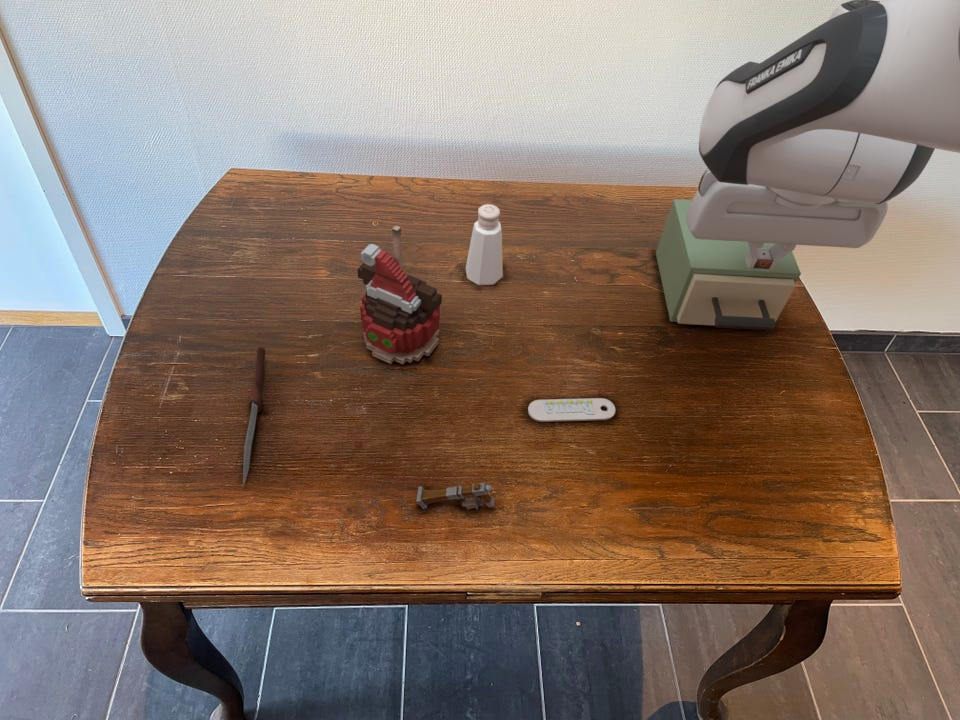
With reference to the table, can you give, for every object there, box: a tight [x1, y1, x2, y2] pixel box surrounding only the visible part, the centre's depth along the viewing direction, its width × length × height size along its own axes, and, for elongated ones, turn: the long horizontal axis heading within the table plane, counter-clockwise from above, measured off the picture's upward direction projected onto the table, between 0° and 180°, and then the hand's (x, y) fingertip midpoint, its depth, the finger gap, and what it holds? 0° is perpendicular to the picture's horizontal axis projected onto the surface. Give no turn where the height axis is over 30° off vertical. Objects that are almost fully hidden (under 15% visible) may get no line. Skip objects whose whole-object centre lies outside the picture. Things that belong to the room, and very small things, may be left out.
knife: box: [242, 346, 266, 488], centre depth 78 cm, size 18×2×3 cm, turn 5°
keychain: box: [527, 397, 616, 423], centre depth 82 cm, size 10×1×3 cm
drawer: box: [677, 273, 797, 331], centre depth 91 cm, size 17×13×8 cm
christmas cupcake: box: [356, 225, 443, 365], centre depth 81 cm, size 11×9×18 cm
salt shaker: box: [465, 203, 504, 286], centre depth 93 cm, size 5×5×11 cm
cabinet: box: [655, 198, 802, 323], centre depth 94 cm, size 14×14×10 cm
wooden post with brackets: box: [416, 482, 497, 511], centre depth 72 cm, size 2×8×4 cm, turn 86°
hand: (758, 265), depth 82 cm, fingers closed
